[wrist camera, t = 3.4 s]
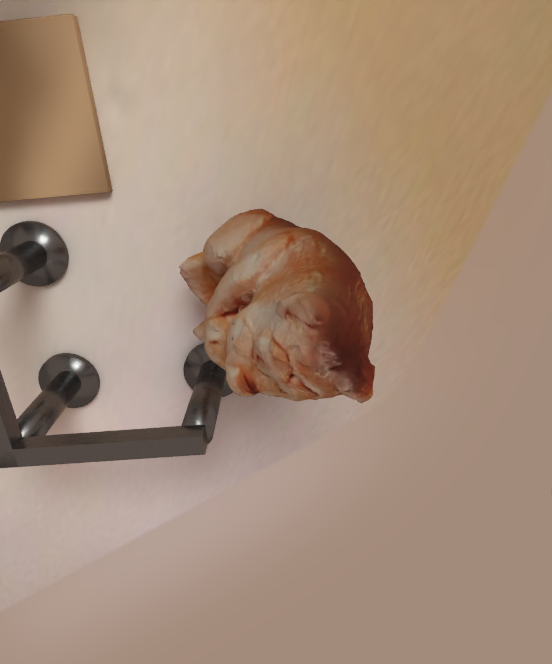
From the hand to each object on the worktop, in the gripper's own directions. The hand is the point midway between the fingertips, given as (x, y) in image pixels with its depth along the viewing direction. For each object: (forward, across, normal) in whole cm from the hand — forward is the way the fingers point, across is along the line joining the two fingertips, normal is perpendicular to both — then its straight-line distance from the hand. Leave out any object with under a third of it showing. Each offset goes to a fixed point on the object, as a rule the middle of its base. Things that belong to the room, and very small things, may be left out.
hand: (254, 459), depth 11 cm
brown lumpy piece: (+19, 0, 0) cm, 19 cm away
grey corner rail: (+18, -13, -7) cm, 24 cm away
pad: (+18, -13, +8) cm, 24 cm away
